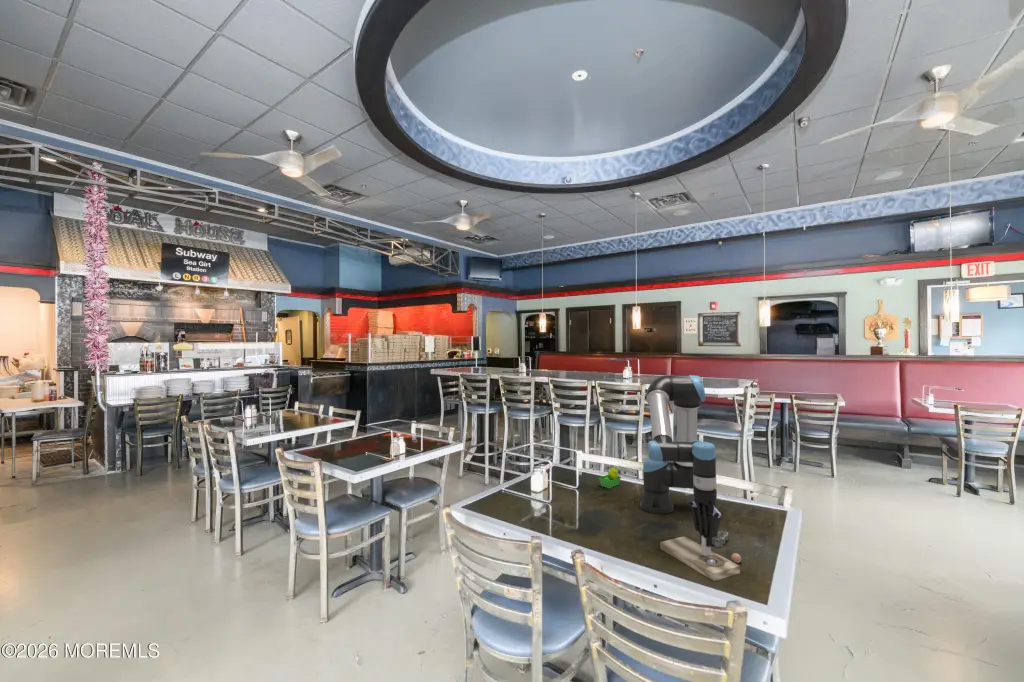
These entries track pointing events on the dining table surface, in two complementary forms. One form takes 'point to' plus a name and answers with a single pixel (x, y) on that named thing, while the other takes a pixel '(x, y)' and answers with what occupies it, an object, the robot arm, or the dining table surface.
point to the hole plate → (699, 558)
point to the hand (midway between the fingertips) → (706, 554)
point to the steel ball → (711, 561)
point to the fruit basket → (610, 478)
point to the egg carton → (721, 541)
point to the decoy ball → (736, 558)
